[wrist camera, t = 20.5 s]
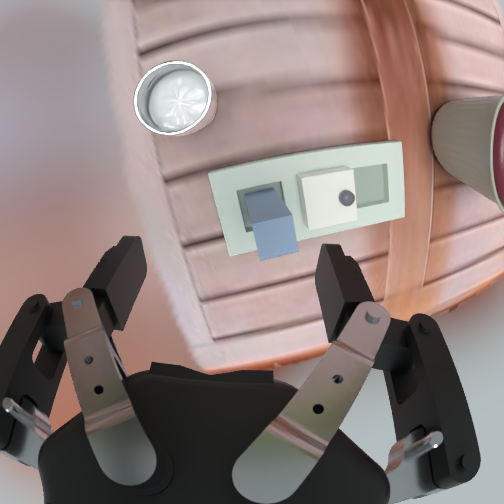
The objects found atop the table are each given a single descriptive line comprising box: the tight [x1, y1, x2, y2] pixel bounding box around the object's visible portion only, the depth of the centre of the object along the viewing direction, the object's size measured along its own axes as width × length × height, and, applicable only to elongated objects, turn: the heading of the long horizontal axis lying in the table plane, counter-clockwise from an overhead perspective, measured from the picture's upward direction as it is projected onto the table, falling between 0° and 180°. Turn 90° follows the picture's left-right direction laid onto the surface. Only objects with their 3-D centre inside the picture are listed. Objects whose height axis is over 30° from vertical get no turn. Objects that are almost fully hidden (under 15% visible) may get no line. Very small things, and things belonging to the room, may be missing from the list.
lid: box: [297, 166, 357, 230], centre depth 34 cm, size 7×7×3 cm
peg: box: [244, 187, 298, 261], centre depth 32 cm, size 4×4×12 cm
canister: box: [431, 95, 504, 213], centre depth 26 cm, size 18×18×21 cm
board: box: [208, 140, 404, 256], centre depth 37 cm, size 12×28×2 cm, turn 102°
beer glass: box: [133, 60, 217, 136], centre depth 25 cm, size 7×7×15 cm
